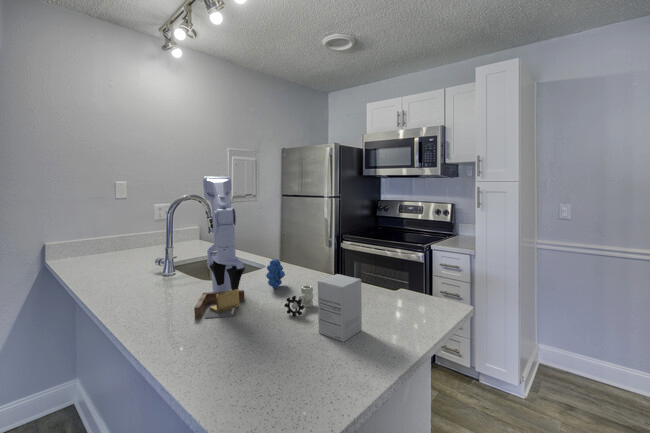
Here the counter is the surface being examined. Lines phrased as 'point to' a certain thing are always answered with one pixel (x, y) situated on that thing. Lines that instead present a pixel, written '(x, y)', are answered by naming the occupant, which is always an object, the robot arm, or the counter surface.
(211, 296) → the corner walls
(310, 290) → the valve
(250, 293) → the counter surface
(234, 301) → the bronze bracket
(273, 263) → the grapes
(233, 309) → the mat
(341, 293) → the supplement box
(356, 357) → the counter surface
